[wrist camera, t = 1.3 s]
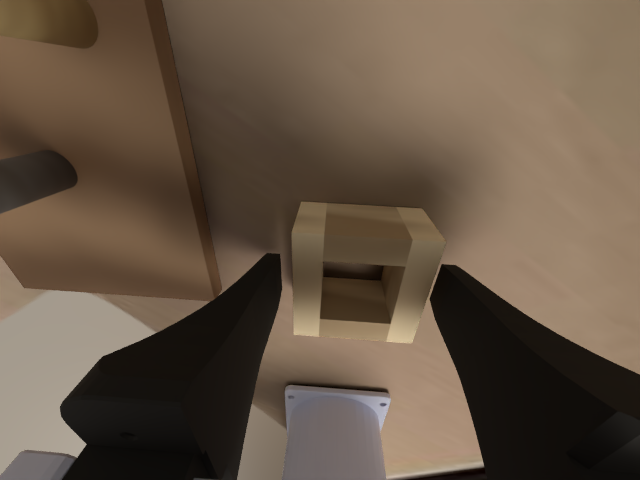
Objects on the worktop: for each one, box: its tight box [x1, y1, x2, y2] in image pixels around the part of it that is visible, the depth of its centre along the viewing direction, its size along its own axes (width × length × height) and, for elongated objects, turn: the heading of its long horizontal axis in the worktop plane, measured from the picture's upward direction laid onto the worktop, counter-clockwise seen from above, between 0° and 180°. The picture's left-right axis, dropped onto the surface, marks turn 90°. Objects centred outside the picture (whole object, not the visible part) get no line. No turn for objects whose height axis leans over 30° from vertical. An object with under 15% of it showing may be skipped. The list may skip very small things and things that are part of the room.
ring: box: [292, 201, 446, 343], centre depth 12 cm, size 6×6×3 cm
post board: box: [0, 0, 222, 301], centre depth 9 cm, size 14×11×5 cm
